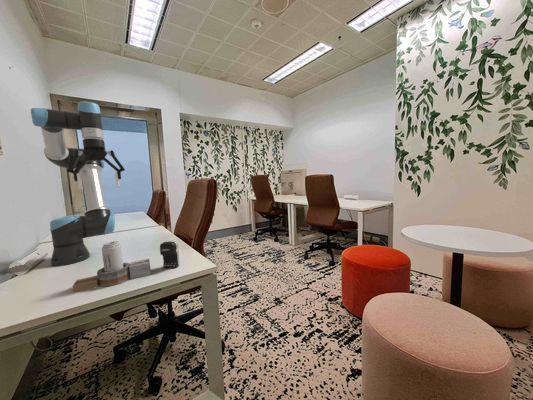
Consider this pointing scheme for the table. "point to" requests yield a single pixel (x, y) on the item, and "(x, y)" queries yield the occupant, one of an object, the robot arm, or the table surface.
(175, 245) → the battery
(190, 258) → the table surface
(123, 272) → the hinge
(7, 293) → the table surface
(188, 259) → the table surface
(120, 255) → the energy drink can
